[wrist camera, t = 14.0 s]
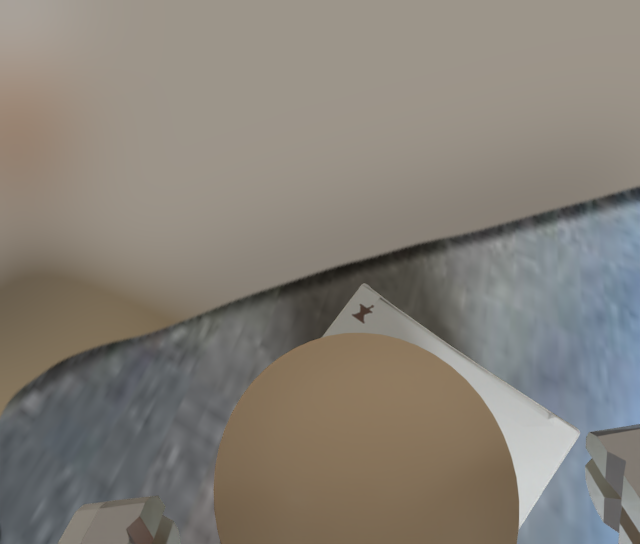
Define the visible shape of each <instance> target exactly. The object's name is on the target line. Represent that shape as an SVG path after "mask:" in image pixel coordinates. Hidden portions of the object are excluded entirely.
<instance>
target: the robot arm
mask: <svg viewBox="0 0 640 544" xmlns="http://www.w3.org/2000/svg"><path fill="white" fill-rule="evenodd" d="M586 449H587V451H588V452H589V454H590V455H591V457H592V459H591V460H590V461H589V462H588V463H587V464H586V465H585V474H586V483H587V486H588V490H589V494H590V497H591V499H592V501H593V504H594V506H595V508H596V510H597V512H598V514H599V515H600V517H601V519H602V521H603V522H604V523H605V524H607V525H608V526H610V527H611V528H612V529H614V530H615V531H617V532H618V533H619V543H618V544H640V424H638V425H632V426H625V427H619V428H613V429H606V430H600V431H594V432H589V433H588V435H587V437H586ZM164 509H165V505H164V504H163V502H162V501H161V499H160V498H159V496H150V497H141V498H132V499H123V500H115V501H107V502H99V503H92V504H84V505H83V506H82V507H81V508H79V509H78V510H77V511H76V512H75V514H74V516H73V517H72V519H71V521H70V523H69V524H68V526H67V528H66V530H65V531H64V533H63V535H62V537H61V539H60V540H59V542H58V544H181V540H180V535H179V531H178V528H177V526H176V525H175V523H174V521H172V520H170V519H169V518H167V517H165V516H163V512H164Z"/></svg>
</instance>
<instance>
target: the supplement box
mask: <svg viewBox="0 0 640 544" xmlns="http://www.w3.org/2000/svg"><path fill="white" fill-rule="evenodd" d="M343 333H372V334H381V335H386V336H390V337H394V338H398V339H401V340H404V341H407V342H409V343H412V344H415V345H417V346H419V347H421V348H423V349H425V350H427V351H429V352H431V353H432V354H434V355H436V356H437V357H439V358H440V359H442V360H443V361H444V362H446V363H447V364H449V365H450V366H451V367H453V368H454V369H455V370H456V371H457V372H458V373H459V374H460V375H461V376H463V377H464V378H465V379H466V380H467V381H468V382H469V383H470V385H471V386H472V387H473V388H474V389H475V390H476V391H477V393H478V394H479V395H480V396H481V397H482V399H483V400H484V402H485V403H486V405H487V406H488V408H489V409H490V411H491V412H492V414H493V415H494V417H495V419H496V421H497V423H498V425H499V427H500V429H501V431H502V433H503V435H504V438H505V440H506V443H507V446H508V448H509V451H510V454H511V457H512V461H513V465H514V469H515V473H516V477H517V485H518V494H519V528H520V527H521V525H522V524H523V522H524V520H525V519H526V517H527V516H528V514H529V513H530V511H531V509H532V508H533V506H534V505H535V503H536V502H537V500H538V499H539V497H540V495H541V494H542V492H543V490H544V489H545V487H546V486H547V484H548V483H549V481H550V480H551V478H552V477H553V475H554V474H555V472H556V470H557V469H558V467H559V466H560V464H561V463H562V461H563V460H564V458H565V457H566V455H567V454H568V452H569V451H570V449H571V448H572V446H573V445H574V443H575V441H576V440H577V438H578V437H579V434H580V431H579V430H578V429H577V428H576V427H574V426H573V425H571V424H569V423H568V422H566V421H564V420H563V419H561V418H560V417H558V416H557V415H555V414H554V413H552V412H550V411H549V410H547V409H546V408H544V407H543V406H541V405H540V404H538V403H536V402H535V401H533V400H532V399H530V398H529V397H527V396H526V395H524V394H523V393H521V392H520V391H518V390H517V389H515V388H514V387H512V386H511V385H509V384H508V383H506V382H505V381H503V380H502V379H500V378H499V377H497V376H495V375H494V374H492V373H491V372H489V371H488V370H486V369H485V368H483V367H482V366H480V365H479V364H477V363H476V362H474V361H473V360H471V359H470V358H468V357H467V356H466V355H464V354H463V353H461V352H460V351H458V350H457V349H455V348H454V347H452V346H451V345H449V344H448V343H446V342H445V341H443V340H442V339H441V338H439V337H438V336H436V335H435V334H434V333H432V332H431V331H429V330H428V329H427V328H425V327H424V326H422V325H421V324H420V323H418V322H417V321H415V320H414V319H412V318H411V317H410V316H408V315H407V314H405V313H404V312H403V311H401V310H400V309H398V308H397V307H396V306H394V305H393V304H392V303H390V302H389V301H388V300H386V299H385V298H384V297H382V296H381V295H380V294H378V293H377V292H376V291H375V290H373V289H372V288H371V287H370V286H369V285H367V284H365V283H363V284H362V285H361V286H360V287H359V289H358V290H357V291H356V293H355V294H354V295H353V296H352V298H351V299H350V300H349V302H348V303H347V304H346V306H345V307H344V308H343V310H342V311H341V312H340V314H339V315H338V316H337V318H336V319H335V320H334V322H333V323H332V324H331V326H330V327H329V328H328V330H327V331H326V332H325V334H324V335H323V336H322V337H326V336H330V335H337V334H343ZM518 530H519V529H518Z"/></svg>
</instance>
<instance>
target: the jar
mask: <svg viewBox="0 0 640 544" xmlns="http://www.w3.org/2000/svg"><path fill="white" fill-rule="evenodd" d="M214 510H215V517H216V523H217V530H218V534H219V538H220V541H221V544H516V543H517V536H518V529H519V494H518V485H517V477H516V473H515V469H514V465H513V461H512V457H511V454H510V451H509V448H508V446H507V443H506V440H505V438H504V435H503V433H502V431H501V429H500V427H499V425H498V423H497V421H496V419H495V417H494V415H493V414H492V412H491V411H490V409H489V408H488V406H487V405H486V403H485V402H484V400H483V399H482V397H481V396H480V395H479V394H478V393H477V391H476V390H475V389H474V388H473V387H472V386H471V385H470V383H469V382H468V381H467V380H466V379H465V378H464V377H463V376H461V375H460V374H459V373H458V372H457V371H456V370H455V369H454V368H453V367H451V366H450V365H449V364H447V363H446V362H444V361H443V360H442V359H440V358H439V357H437V356H436V355H434V354H432V353H431V352H429V351H427V350H425V349H423V348H421V347H419V346H417V345H415V344H412V343H409V342H407V341H404V340H401V339H398V338H394V337H390V336H386V335H381V334H372V333H343V334H337V335H330V336H326V337H322V338H319V339H316V340H312V341H310V342H307V343H305V344H303V345H301V346H298V347H296V348H294V349H292V350H291V351H289V352H287V353H286V354H284V355H283V356H281V357H279V358H278V359H277V360H276V361H274V362H273V363H272V364H271V365H269V366H268V367H267V368H266V369H265V370H264V371H263V372H262V373H261V374H260V375H259V376H258V377H257V378H256V379H255V380H254V381H253V382H252V383H251V385H250V386H249V387H248V389H247V390H246V391H245V393H244V394H243V395H242V397H241V398H240V400H239V402H238V403H237V405H236V407H235V409H234V410H233V412H232V414H231V416H230V419H229V421H228V423H227V426H226V428H225V430H224V433H223V437H222V440H221V443H220V446H219V450H218V456H217V461H216V466H215V477H214Z"/></svg>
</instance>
